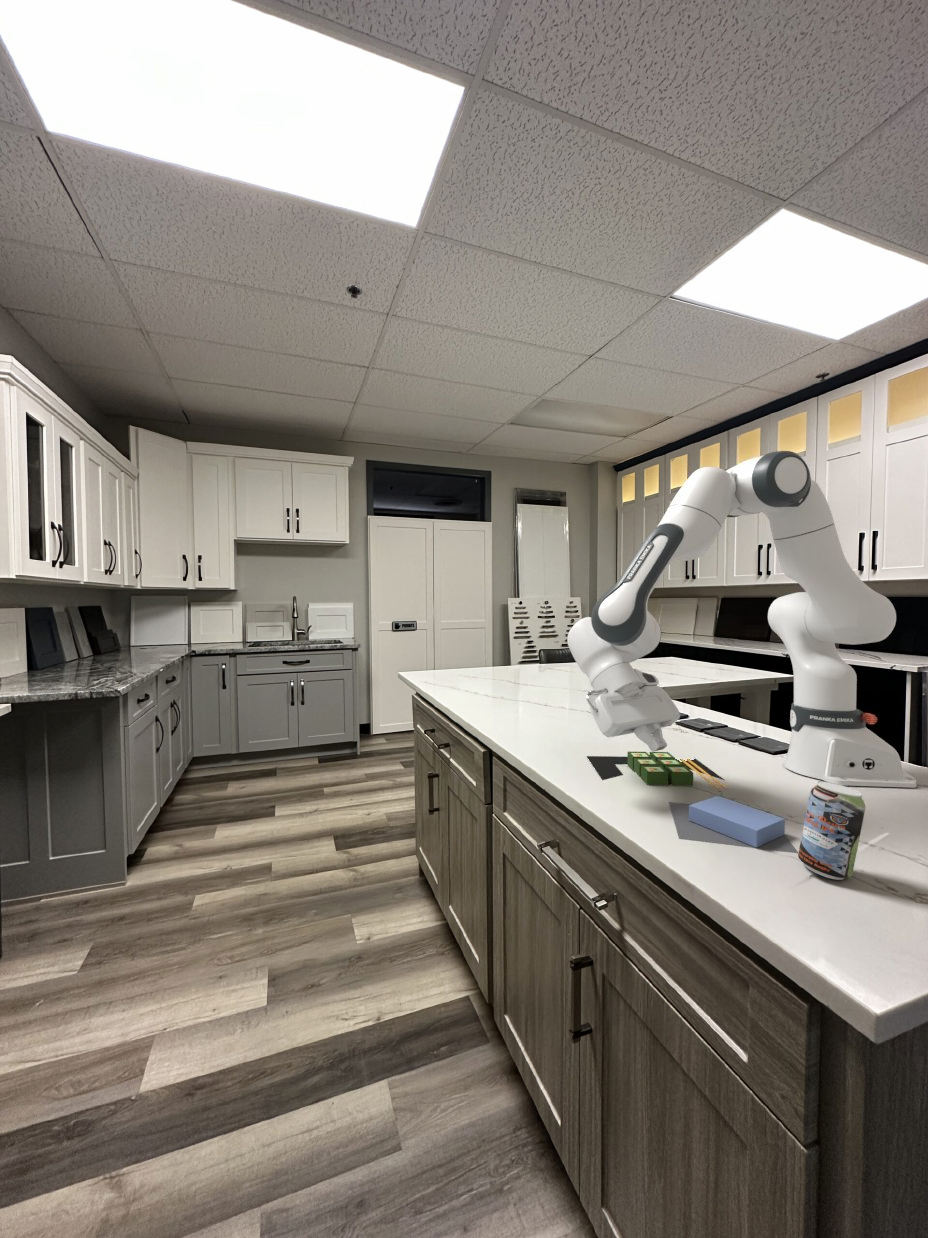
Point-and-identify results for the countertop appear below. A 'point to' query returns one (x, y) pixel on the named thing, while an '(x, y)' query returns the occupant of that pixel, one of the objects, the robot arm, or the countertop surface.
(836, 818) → the beverage can
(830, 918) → the countertop surface
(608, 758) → the sushi
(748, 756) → the countertop surface
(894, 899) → the countertop surface
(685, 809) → the rubber mat
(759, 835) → the card deck
